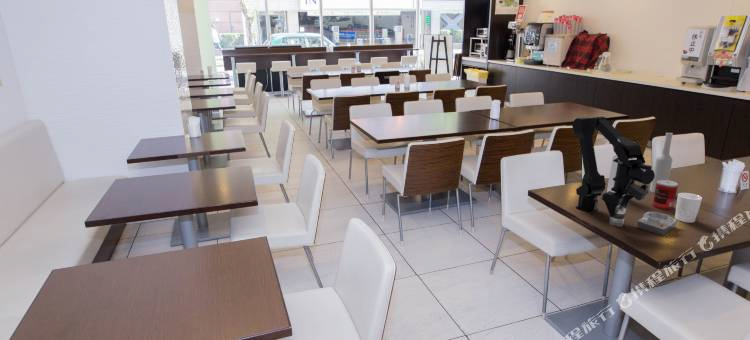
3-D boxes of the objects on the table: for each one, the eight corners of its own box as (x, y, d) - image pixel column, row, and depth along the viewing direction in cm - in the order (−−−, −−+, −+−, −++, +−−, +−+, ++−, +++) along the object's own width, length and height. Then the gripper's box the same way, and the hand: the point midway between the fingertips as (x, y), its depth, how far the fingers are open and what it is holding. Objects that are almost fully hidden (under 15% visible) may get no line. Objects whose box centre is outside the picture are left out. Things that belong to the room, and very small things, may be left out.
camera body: (636, 227, 169) (639, 216, 168) (650, 219, 176) (652, 209, 175) (662, 235, 163) (665, 224, 161) (675, 226, 170) (677, 216, 168)
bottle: (662, 194, 203) (675, 135, 195) (647, 191, 208) (658, 133, 199) (668, 191, 207) (680, 133, 198) (652, 188, 212) (664, 131, 203)
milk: (606, 195, 203) (613, 149, 196) (614, 193, 205) (622, 147, 199) (618, 199, 197) (626, 152, 191) (627, 197, 200) (635, 150, 193)
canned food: (671, 204, 191) (676, 180, 188) (674, 211, 184) (679, 186, 181) (651, 202, 194) (655, 178, 191) (653, 208, 188) (658, 184, 184)
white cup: (700, 224, 172) (706, 200, 169) (678, 222, 174) (683, 199, 171) (690, 216, 179) (696, 193, 176) (669, 214, 181) (674, 192, 178)
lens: (606, 223, 173) (608, 206, 171) (612, 220, 176) (615, 203, 174) (619, 227, 169) (622, 210, 167) (625, 224, 172) (629, 207, 170)
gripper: (635, 186, 155) (628, 227, 160) (657, 176, 166) (650, 214, 171) (604, 178, 164) (597, 217, 168) (626, 169, 174) (620, 206, 179)
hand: (617, 213), depth 171 cm, fingers open, 9 cm apart
